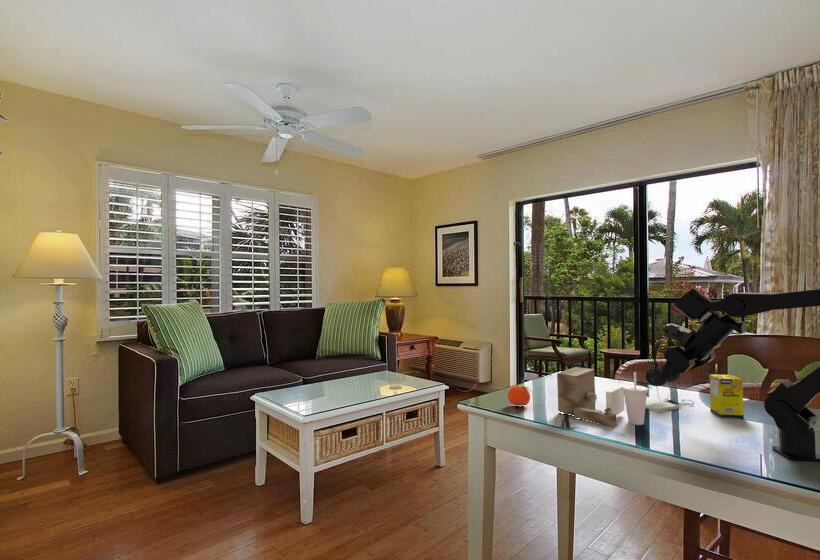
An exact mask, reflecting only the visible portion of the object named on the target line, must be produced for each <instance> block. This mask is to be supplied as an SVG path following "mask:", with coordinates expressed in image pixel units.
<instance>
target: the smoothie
mask: <svg viewBox="0 0 820 560" xmlns="http://www.w3.org/2000/svg"><path fill="white" fill-rule="evenodd" d="M622 386H623V387H622V391H624V404H625V408H626V415H627V420H628V423H629V424H630V423H631V425H634V424H635V426H643V425H644V424H645V417H646V416H645V415H646V414H645V413H646V408H645V407H646V398H647V397H648V393H649V388H648V387H647V386H643V385H637V371H633V384H625V385H622Z"/></svg>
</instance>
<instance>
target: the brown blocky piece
mask: <svg viewBox="0 0 820 560" xmlns="http://www.w3.org/2000/svg"><path fill="white" fill-rule="evenodd" d="M556 377H557V378H556V380H557V382H556V383H557V384H556V385H557V411H560V412H563V413H567V414H571V415H574V417H576V418H580V419H584V420H588V421H592V422H595V423H594V424H596V423H599V424H598V425H601V424H603V425H602V426H605V425H606V427H610V428H615V427H617V425H618V423H617V415H616V414H612V413H608V412H605V411H602V410H599V409H596V401H597V398H598V396H597V393H596V385H595V384H596V383H595V369H593V368H586V367H579V366H578V367H577V366H574V367H572V368H569V369H566V370H563V371H560V372H557V373H556ZM594 408H595V409H594ZM592 409H594V410H592ZM574 417H573V418H574Z"/></svg>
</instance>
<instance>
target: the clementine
mask: <svg viewBox="0 0 820 560" xmlns="http://www.w3.org/2000/svg"><path fill="white" fill-rule="evenodd" d="M530 392H531V393H532V395H534V394H533V391H532V390H531V388H529V387H528V386H526V385H522V384H514V385H512V386H511V387H510V388H509V389H508V392H507V400H508V402H509V403H510V404H511V405H512V404H514V405H526V406H527V405H528V404H529V403H530V401H531V393H530Z"/></svg>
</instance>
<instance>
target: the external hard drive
mask: <svg viewBox="0 0 820 560" xmlns="http://www.w3.org/2000/svg"><path fill="white" fill-rule="evenodd" d="M645 409H646V410H647V409H648V410H652V411H654V412H658V413H663V412H668V411H674V410H679V409H680V405H679V404H674V403H672V402H668V401H665V400H661V399H656V398H652V397H650V396H647V398H646V407H645Z"/></svg>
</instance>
